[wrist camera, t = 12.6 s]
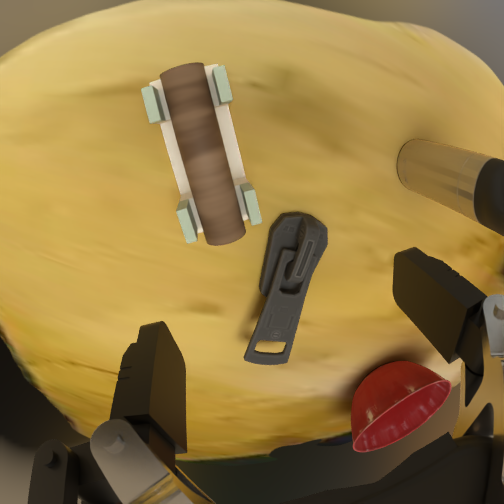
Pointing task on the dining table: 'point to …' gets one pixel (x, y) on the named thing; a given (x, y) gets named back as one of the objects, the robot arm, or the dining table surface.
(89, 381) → the dining table surface
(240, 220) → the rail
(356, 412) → the mixing bowl
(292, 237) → the zipper pull
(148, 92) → the white cradle stand
